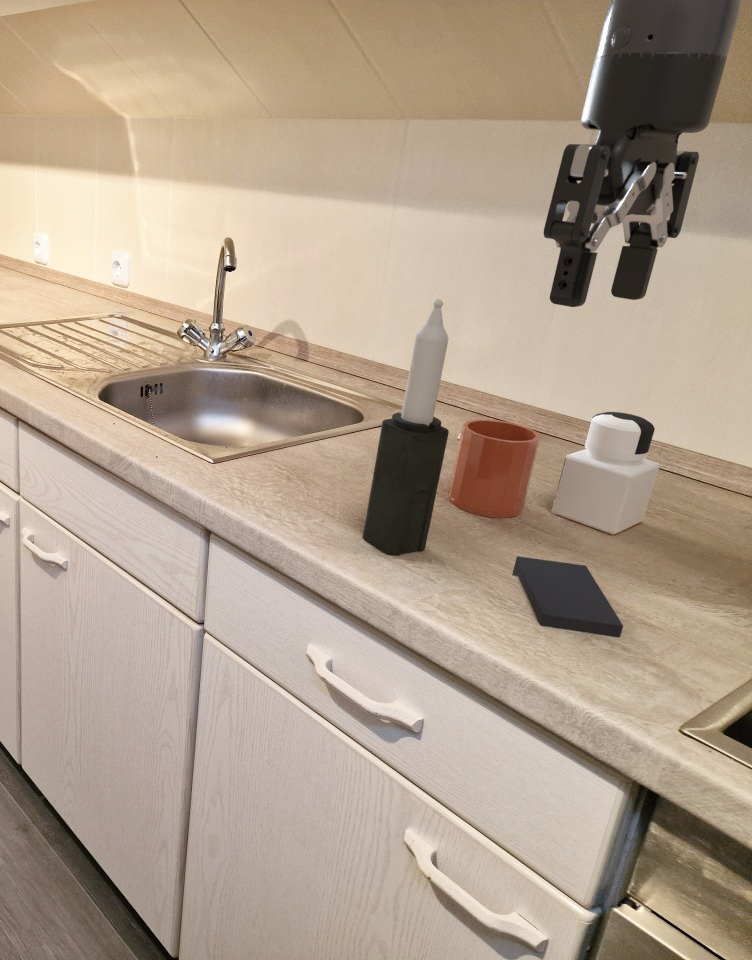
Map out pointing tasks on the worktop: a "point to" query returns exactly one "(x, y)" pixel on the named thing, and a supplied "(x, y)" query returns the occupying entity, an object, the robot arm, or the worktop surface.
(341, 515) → the worktop surface
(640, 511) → the medicine bottle
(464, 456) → the cup
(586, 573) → the dark grey block
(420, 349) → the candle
